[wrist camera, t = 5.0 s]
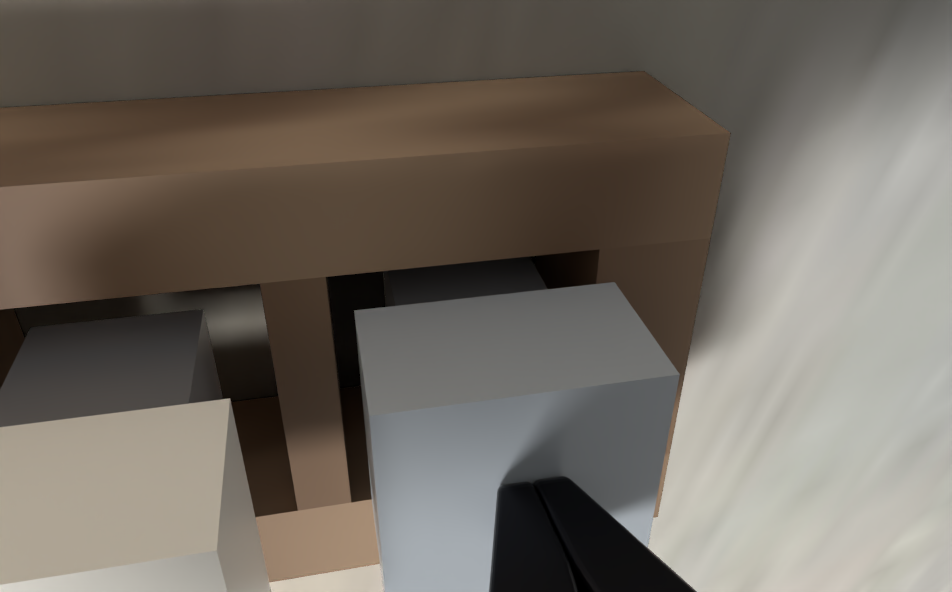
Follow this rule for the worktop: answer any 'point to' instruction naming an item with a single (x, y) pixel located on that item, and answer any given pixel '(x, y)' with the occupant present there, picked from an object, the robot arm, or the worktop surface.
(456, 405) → the key slate
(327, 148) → the key panel
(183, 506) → the key ivory
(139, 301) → the worktop surface
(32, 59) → the worktop surface
